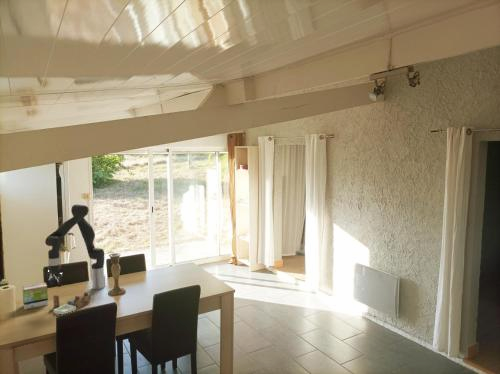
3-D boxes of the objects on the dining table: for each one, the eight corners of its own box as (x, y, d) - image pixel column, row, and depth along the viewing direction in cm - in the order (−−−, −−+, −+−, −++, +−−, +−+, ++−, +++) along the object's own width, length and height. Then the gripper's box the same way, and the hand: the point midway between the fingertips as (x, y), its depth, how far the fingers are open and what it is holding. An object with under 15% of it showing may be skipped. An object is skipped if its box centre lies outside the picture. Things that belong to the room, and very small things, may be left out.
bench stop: (87, 301, 272) (86, 291, 272) (90, 302, 271) (89, 292, 270) (73, 307, 261) (73, 297, 261) (76, 308, 260) (76, 297, 259)
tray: (66, 307, 262) (65, 304, 261) (76, 310, 258) (75, 306, 257) (53, 313, 252) (53, 309, 252) (64, 315, 248) (63, 311, 248)
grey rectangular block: (79, 301, 274) (78, 296, 274) (86, 302, 271) (85, 297, 271) (67, 306, 265) (67, 301, 264) (74, 307, 262) (74, 302, 262)
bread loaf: (57, 306, 265) (56, 294, 264) (60, 306, 263) (60, 294, 263) (52, 308, 262) (52, 295, 261) (56, 308, 260) (55, 296, 259)
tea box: (24, 310, 258) (23, 290, 257) (23, 305, 266) (22, 286, 265) (48, 305, 267) (47, 285, 266) (46, 300, 275) (45, 281, 274)
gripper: (66, 263, 260) (67, 285, 262) (52, 261, 266) (53, 283, 267) (56, 266, 254) (58, 289, 255) (42, 264, 259) (43, 286, 261)
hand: (55, 285), depth 261 cm, fingers open, 8 cm apart
